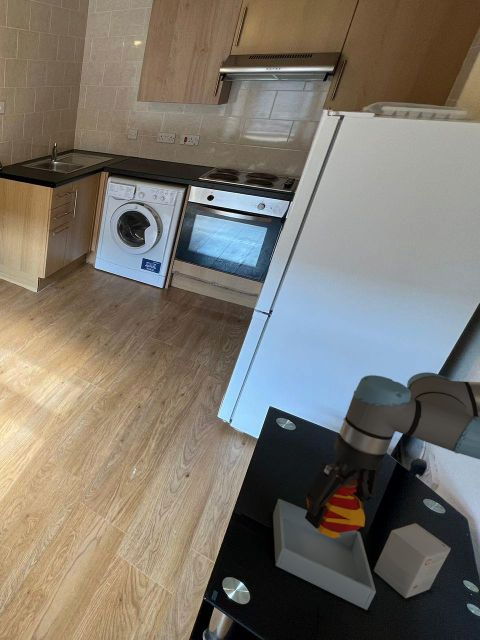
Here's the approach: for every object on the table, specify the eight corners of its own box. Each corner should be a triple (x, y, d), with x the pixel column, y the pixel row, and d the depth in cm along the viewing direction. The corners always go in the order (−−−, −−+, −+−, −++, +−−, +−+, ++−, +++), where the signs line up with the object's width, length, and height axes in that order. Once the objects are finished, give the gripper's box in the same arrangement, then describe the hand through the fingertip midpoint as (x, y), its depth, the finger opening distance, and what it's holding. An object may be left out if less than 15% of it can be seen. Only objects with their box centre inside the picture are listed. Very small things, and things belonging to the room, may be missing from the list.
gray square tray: (352, 549, 100) (360, 532, 98) (367, 610, 87) (376, 592, 86) (272, 514, 109) (278, 498, 107) (275, 565, 96) (281, 548, 94)
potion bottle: (313, 543, 92) (333, 492, 87) (290, 503, 101) (307, 456, 96) (367, 554, 89) (391, 503, 85) (339, 513, 99) (358, 465, 94)
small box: (396, 562, 97) (415, 522, 93) (430, 590, 92) (452, 548, 88) (371, 570, 96) (390, 529, 91) (405, 599, 90) (427, 557, 86)
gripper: (382, 425, 93) (351, 498, 100) (302, 436, 89) (275, 512, 96) (422, 449, 86) (385, 526, 93) (337, 463, 82) (306, 543, 89)
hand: (329, 519), depth 94 cm, fingers closed on potion bottle, 10 cm apart
